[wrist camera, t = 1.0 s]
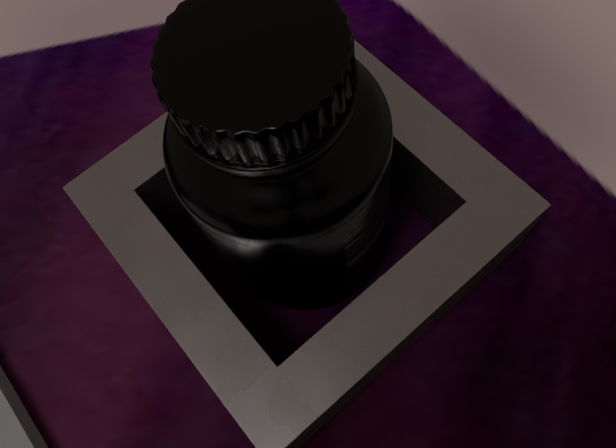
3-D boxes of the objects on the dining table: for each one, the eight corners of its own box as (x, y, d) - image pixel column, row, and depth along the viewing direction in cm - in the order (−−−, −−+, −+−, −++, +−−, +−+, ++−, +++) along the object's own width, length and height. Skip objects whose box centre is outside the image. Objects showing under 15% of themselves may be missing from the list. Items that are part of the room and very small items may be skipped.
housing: (519, 244, 22) (551, 204, 19) (284, 461, 20) (267, 463, 16) (319, 66, 27) (313, 5, 23) (107, 227, 24) (62, 187, 21)
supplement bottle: (340, 142, 25) (324, -101, 14) (415, 268, 22) (467, 92, 11) (203, 205, 24) (73, 3, 13) (264, 343, 22) (164, 233, 11)
